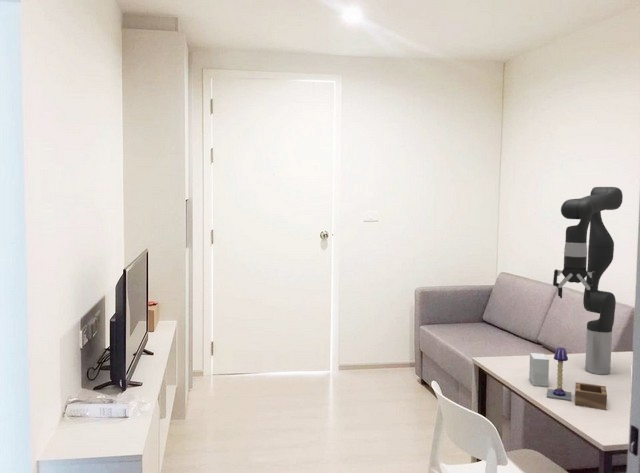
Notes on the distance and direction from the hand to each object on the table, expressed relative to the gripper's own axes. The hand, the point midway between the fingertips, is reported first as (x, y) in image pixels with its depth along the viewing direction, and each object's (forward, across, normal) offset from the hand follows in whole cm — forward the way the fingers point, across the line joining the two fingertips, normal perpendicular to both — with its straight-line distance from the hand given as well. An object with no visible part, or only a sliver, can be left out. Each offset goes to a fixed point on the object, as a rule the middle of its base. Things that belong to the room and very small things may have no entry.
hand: (573, 298), depth 199 cm
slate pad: (+34, +4, +8) cm, 35 cm away
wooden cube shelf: (+34, -6, +11) cm, 36 cm away
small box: (+34, +11, -3) cm, 36 cm away
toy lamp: (+34, +3, +8) cm, 35 cm away
